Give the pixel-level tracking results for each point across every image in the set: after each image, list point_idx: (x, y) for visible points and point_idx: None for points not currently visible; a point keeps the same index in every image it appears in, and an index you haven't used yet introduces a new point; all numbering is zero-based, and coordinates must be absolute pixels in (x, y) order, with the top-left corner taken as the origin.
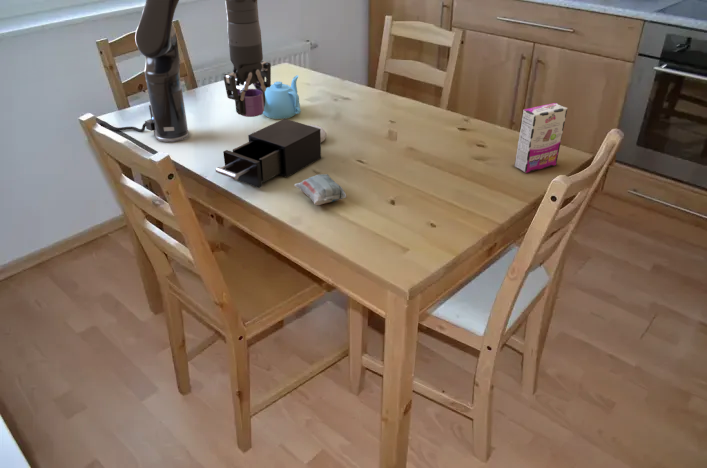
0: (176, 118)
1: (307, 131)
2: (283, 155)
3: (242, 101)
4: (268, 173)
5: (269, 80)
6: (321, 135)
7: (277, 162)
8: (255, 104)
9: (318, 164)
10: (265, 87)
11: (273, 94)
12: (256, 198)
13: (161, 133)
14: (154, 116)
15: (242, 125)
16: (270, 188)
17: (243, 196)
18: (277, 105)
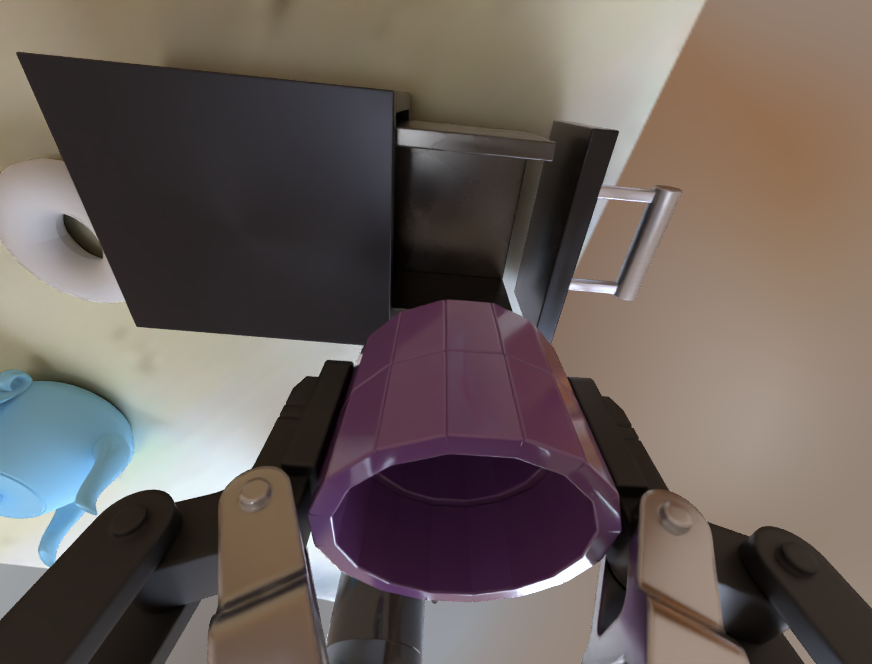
0: None
1: (123, 112)
2: (400, 107)
3: (643, 483)
4: (500, 130)
5: (57, 597)
6: (35, 167)
7: (435, 126)
8: (538, 376)
9: (215, 33)
10: (221, 512)
11: (41, 478)
12: (627, 89)
13: None
14: None
15: (225, 444)
16: (526, 93)
17: (625, 152)
18: (69, 435)
